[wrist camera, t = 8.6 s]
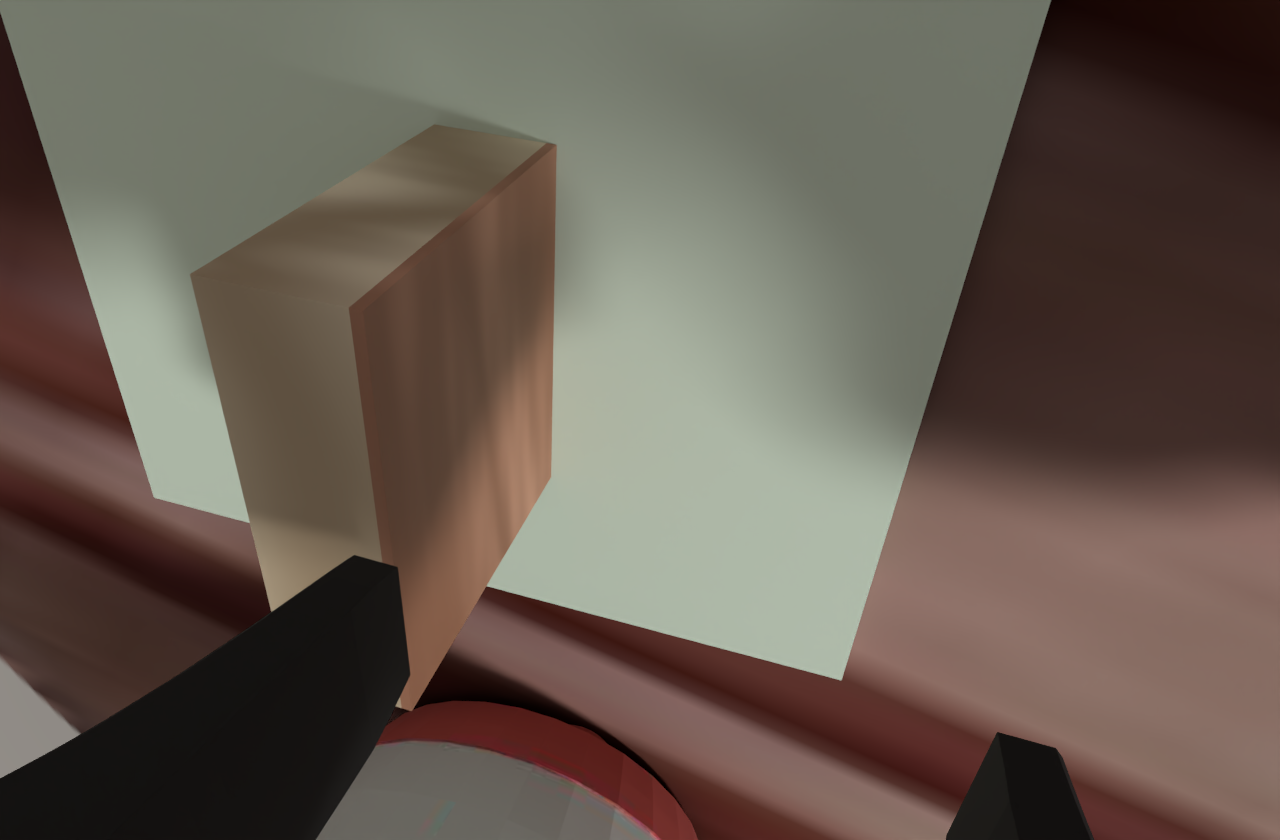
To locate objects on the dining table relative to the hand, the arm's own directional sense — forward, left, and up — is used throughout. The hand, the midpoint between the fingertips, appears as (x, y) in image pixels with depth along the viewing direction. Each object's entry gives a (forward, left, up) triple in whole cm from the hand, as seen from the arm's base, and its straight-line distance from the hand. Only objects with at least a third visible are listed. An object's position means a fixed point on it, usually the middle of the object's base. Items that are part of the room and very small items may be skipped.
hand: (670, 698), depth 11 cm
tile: (+6, +1, -9) cm, 11 cm away
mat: (+7, 0, -9) cm, 12 cm away
